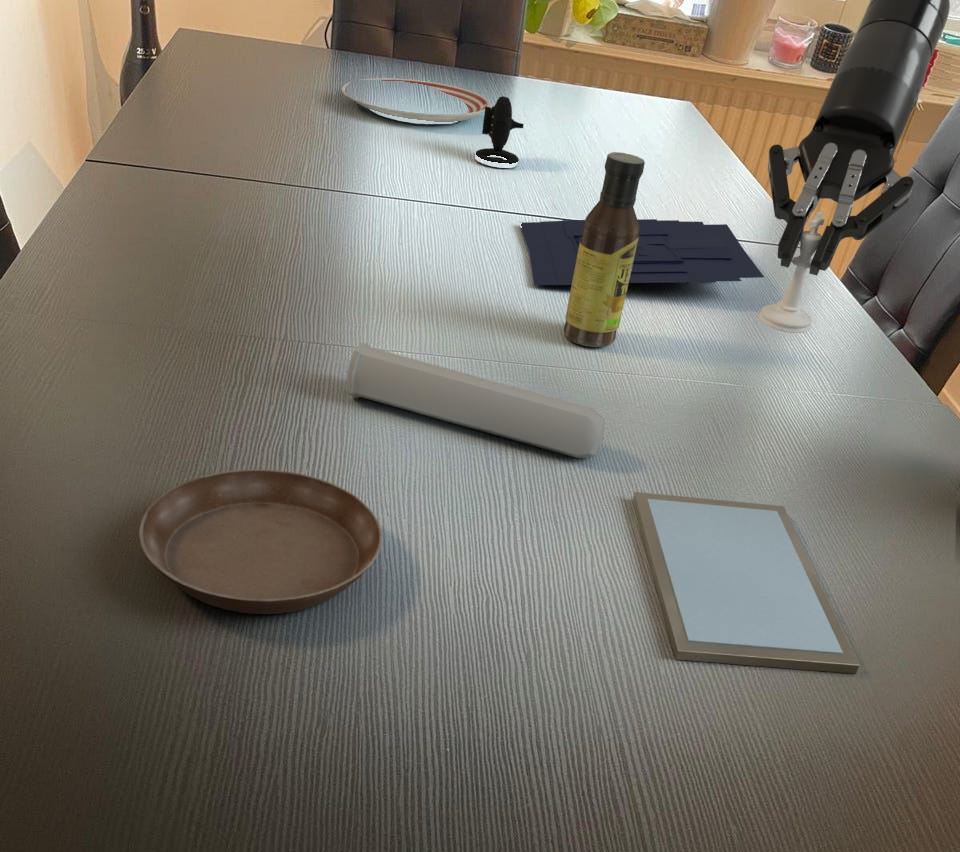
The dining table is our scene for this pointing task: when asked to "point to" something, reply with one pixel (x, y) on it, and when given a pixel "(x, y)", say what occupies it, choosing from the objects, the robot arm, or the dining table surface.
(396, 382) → the tube
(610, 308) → the sauce bottle
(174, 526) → the plant saucer
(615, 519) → the dining table surface
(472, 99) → the dinner plate
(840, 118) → the robot arm
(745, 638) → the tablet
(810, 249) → the chess piece
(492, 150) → the webcam
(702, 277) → the papers
